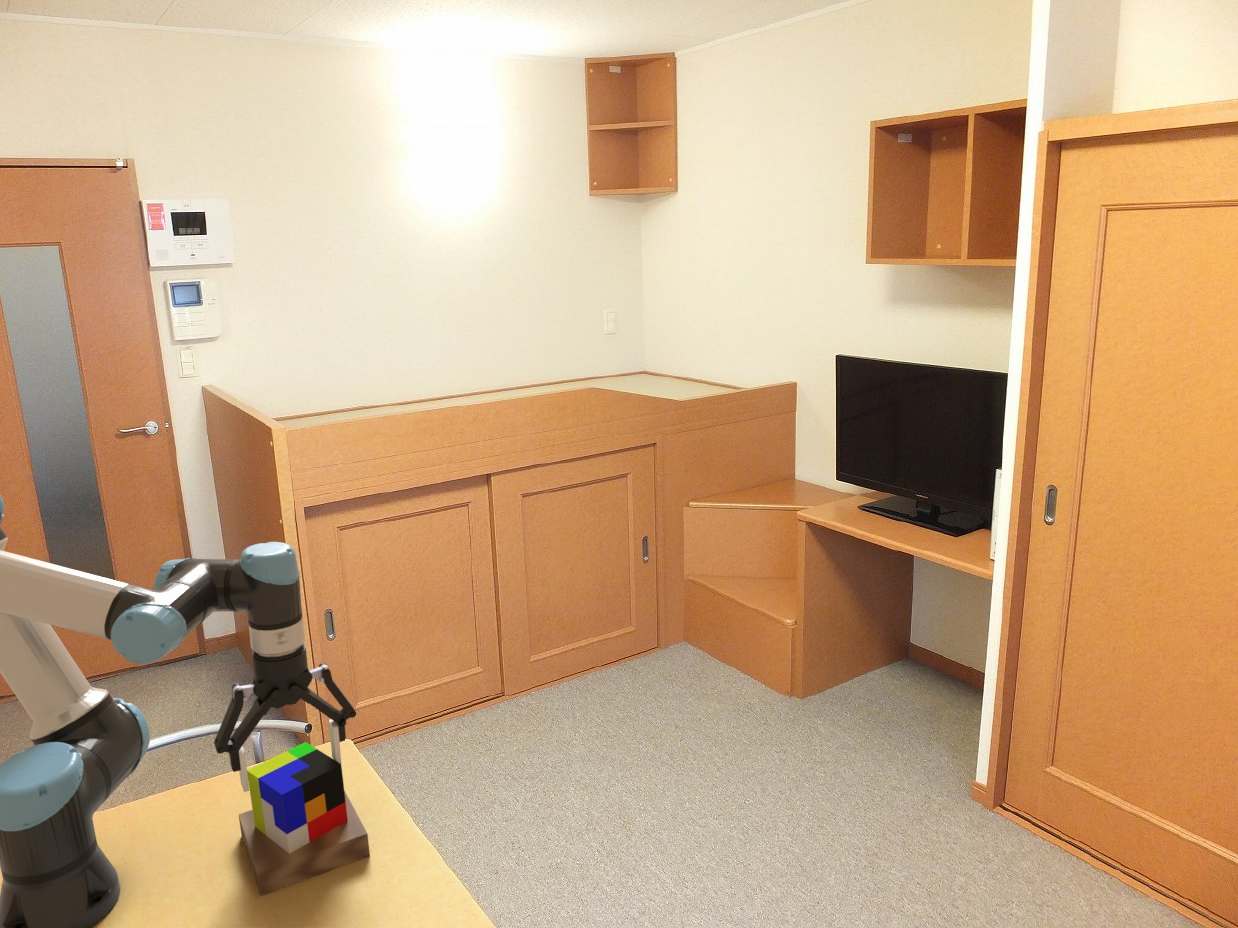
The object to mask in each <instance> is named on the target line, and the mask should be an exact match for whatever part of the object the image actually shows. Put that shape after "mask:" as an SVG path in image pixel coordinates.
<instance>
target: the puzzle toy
mask: <svg viewBox="0 0 1238 928" xmlns="http://www.w3.org/2000/svg"><path fill="white" fill-rule="evenodd" d="M342 768H343V767H342V763H341V764H340V763H339V762H337V761H335V760H334V759H333V757H332V756H331V757H330V755H328V754H326V753H324V752H322V751H321V750H319V749H318V748H316V747H314V746H313V745H311V744H309V743H308V742H306V741H305V742H303V743H300V744H298V745H296V746H295V747H292V748H290V749H288V750H286V751H284V752H282V753H279V754H277V755H275V756H274V757H271V758H270V759H268V760H265V761H264V762H261V763H259V764H257V765H254V766H253V767H251V768H249V769H247V775H248V783H249V794H250V801H251V802H250V803H251V808H252V809H251V810H253V816H254V823H255V827H256V828H257V829H258V830H260V831H261V832H262V833H264V834H265V835H266V836H267V837H269V838H270V839H271V840H273V841H274V842H275V843H276V844H278V845H279V846H280V847H282V848H283V849H284V850H285V851H287V852H288V853H289V854H290V853H292V852H294V851H295V850H297V849H299V848H301V847H302V846H304V845H306V844H308V843H309V842H311V841H313V840H315V839H316V838H318V837H320V836H322V835H323V834H325V833H327V832H329V831H330V830H332V829H334V828H336V827H337V826H339V825H341V824H342V823H344V822H346V821H348V818H347V810H346V801H345V792H346V791H345V786H344V785H345V783H344V777H343V769H342ZM344 791H345V792H344Z"/></svg>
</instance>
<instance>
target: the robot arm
mask: <svg viewBox="0 0 1238 928" xmlns="http://www.w3.org/2000/svg"><path fill="white" fill-rule="evenodd" d="M4 502H5V501H4V499H3V496H2V494H0V525H2V522H3V520H4V517H5V515H4V511H5V510H6V508H5V503H4ZM8 541H9V538H8V536H7V534H6V533H5V531H4V530H3V528H2V527H1V526H0V674H1V676H2V677H3V679H4V681H5V682H6V683H7V685H8V686H9V688H10V689H11V691H12V692H13V694H14V695H15V697H16V698H17V700H18V701H19V702H20V704H21V705H22V707H23V708H24V709H25V711H26V713H27V714H28V715H29V717H30V719H31V720H32V726H31V729H30V733H29V736H28V737H29V738H30V740H31V742H32V744H34V745H32V746H29V747H27V748H25V749H24V750H25V751H23V752H16V753H15V754H13V755H11V756H9V757H7V758H6V759H5V760H4V761H2V762H1V763H0V871H1V875H2V883H1V888H0V928H91V927H93V926H94V925H96V924H97V923H99V922H100V921H101V920H102V919H103V918H105V917H106V916H107V914H109V912H110V911H112V909H113V908H114V907H115V905H116V903H117V902H118V900H119V898H120V893H121V884H120V879H119V875H118V874H119V873H118V872H117V870H116V868H115V867H114V865H113V864H112V863H111V861H110V860H109V858H108V857H107V856H106V854H105V853H104V851H103V850H102V849H101V848H100V845H98V841H97V840H98V839H97V836H96V830H95V825H94V820H93V818H94V814H95V812H97V810H98V809H99V808H100V807H101V806H102V805H103V804H104V803H105V802H106V801H107V800H108V798H109V797H110V796H111V795H112V794H113V793H114V792H115V790H117V788H119V786H120V785H121V784H122V783H124V781H125V780H126V779H128V778H129V777H130V776H131V775H132V774H133V773H134V772H135V771H136V770H137V768H138V766H139V764H140V763H141V762H142V760H143V758H144V757H145V756H146V753H147V751H148V749H149V746H150V742H151V741H150V740H151V732H150V726H149V723H148V721H147V719H146V718H147V717H146V716H145V715H144V713H143V712H142V711H141V710H140V709H139V707H138V706H136V705H135V704H133V703H132V702H129V703H128V702H126V700H125V699H123V698H120V697H119V698H118V697H112V696H111V693H109V691H108V690H107V689H104V688H99V687H98V688H97V687H94V686H91V684H90V683H89V681H88V680H87V678H86V677H85V675H84V674H83V672H82V670H81V669H80V668H79V666H78V665H77V663H76V661H75V660H74V659H73V657H72V656H71V654H70V652H69V651H68V649H67V648H66V647H65V645H64V643H63V642H62V640H61V639H60V637H59V636H58V634H57V633H56V631H55V629H54V628H53V627H52V626H55V627H58V628H63V629H65V630H66V629H67V630H71V631H74V632H79V633H81V634H85V635H90V636H94V637H98V638H101V639H106V640H109V641H111V644H112V646H113V648H114V650H115V651H116V652H117V654H119V655H121V656H122V657H124V659H126V660H127V661H129V662H131V663H133V664H137V665H138V664H140V665H145V664H152V663H155V662H157V661H160V660H161V659H163V658H164V657H165V656H167V655H168V654H170V653H171V652H172V651H174V650H175V649H177V648H179V646H180V645H181V644H182V643H183V641H184V640H185V639H186V638H187V637H188V636H189V635H190V634H191V633H192V631H194V630H195V629H196V628H197V627H199V626H200V625H201V624H203V622H204V621H205V620H206V619H207V618H208V617H209V616H211V615H212V614H213V613H215V612H245V613H246V616H247V623H248V632H249V633H248V634H249V639H250V640H249V643H250V648H251V650H252V652H251V660H252V667H253V668H252V669H253V675H254V676H253V677H254V678H253V681H252V684H245V685H242V684H240V683H234V684H233V685H232V686H231V700H230V702H229V705H228V707H227V709H226V712H225V714H224V716H223V719H222V721H221V724H220V726H219V729H218V732H217V734H216V736H215V739H214V741H213V745H214V747H215V751H216V753H217V754H224V753H227V754H229V763H230V767H231V770H232V771H233V772H234V773H235V772H239V780H240V785H241V787H242V791H243V793H246V792H250V789H249V782H248V775H247V770H248V769H247V759H246V751H245V748H244V746H243V745H244V744H245V743H246V741H247V740H248V738H249V737H250V736H251V734H252V733H253V731H254V730H255V728H256V727H257V726H258V724H259V723H260V721H261V720H262V718H264V716H266V715H267V713H268V712H270V711H269V710H270V709H271V708H274V709H275V710H277V709H280V708H282V707H284V706H291V705H292V706H293V705H295V704H296V705H297V703H298V702H300V700H302V701H304V702H305V703H307V704H309V705H310V706H312V707H314V708H315V709H316V710H318V711H319V712H321V713H322V714H323V715H325V716H326V717H328V718H329V719H328V724H329V725H328V726H329V738H330V747H331V748H330V749H331V758H332V759H334V760H335V761H337V762H339V763H340V764H341V765H342V756H341V742H345V741H346V738H347V737H346V736H347V735H346V725H347V720H348V719H350V718H351V719H352V718H355V717H356V716H357V712H356V709H355V708H354V707H353V705H352V704H351V702H350V701H349V700H348V698H347V697H346V696H345V694H344V693H343V692H342V690H341V689H340V688H339V687H338V685H337V684H336V683H335V681H334V680H333V677H332V673H331V670H330V668H329V666H328V665H327V663H326V662H322V663H319V664H318V667H315V668H312V669H309V667H308V666H309V665H308V656H307V645H306V643H305V640H306V637H305V635H306V634H305V628H304V617H303V609H302V608H303V607H302V597H301V594H302V593H301V584H300V578H301V576H300V572H301V571H299V566H298V565H299V564H298V560H297V556H296V555H297V554H296V551H295V549H294V548H293V547H292V545H289V544H288V543H285V542H280V541H268V542H262V543H261V542H260V543H256V544H253V545H250V546H247V547H246V548H245V549H243V550H242V552H241V554H240V558H239V559H238V558H237V559H233V558H231V559H229V558H227V559H225V558H224V559H222V558H220V559H219V558H197V557H186V558H180V559H170V560H168V561H165V562H163V564H162V565H161V566H160V568H159V571H158V573H156V575H155V577H154V583H153V584H154V585H153V589H151V588H147V587H143V586H139V585H135V584H130V583H126V582H123V581H119V580H114V579H112V578H108V577H103V576H100V575H97V574H92V573H89V572H85V571H81V570H77V569H73V568H70V567H65V566H62V565H58V564H54V563H52V562H46V561H44V560H39V559H37V558H31V557H29V556H24V555H20V554H17V553H13V552H9V551H6V550H5V549H6V546H7V543H8ZM313 679H316V680H317V681H318V682H319V683H323V684H324V685H325V686H326V687H325V688H327V690H328V691H329V693H330V694H331V695H332V696H333V697H334V700H336V701H337V703H338V705H340V707H341V708H342V709H340V710H338V709H337V708H336V707H335V706H333V705H332V704H330V703H329V702H328V701H326V700H325V699H323V698H322V697H321V696H320V695H318V694H317V693H315V692H314V691H312V690H311V689H310V688H309V686H310V684H311V683H312V681H313ZM251 694H253V695H255V696H256V698H255V700H254V702H253V704H252V706H251V708H250V709H249V711H248V712H247V714H245V716H244V717H243V719H242V721H241V722H240V724H238V726H237V728H236V729H235V727H236V725H237V723H238V720H239V717H240V715H241V713H242V710H243V708H244V704H245V703H244V702H247V700H248V699H249V698H250V695H251ZM234 730H235V731H234Z"/></svg>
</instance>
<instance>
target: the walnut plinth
mask: <svg viewBox="0 0 1238 928" xmlns="http://www.w3.org/2000/svg"><path fill="white" fill-rule="evenodd" d="M344 792H345V801H346V810H347V818H348V821H346V822H344V823H342V824H341V825H339V826H337V827H336V828H334V829H332V830H330V831H329V832H327V833H325V834H323V835H322V836H320V837H318V838H316V839H315V840H313V841H311V842H309V843H308V844H306V845H304V846H302V847H301V848H299V849H297V850H295V851H294V852H292V853H290V854H289V853H288V852H287V851H285V850H284V849H283V848H282V847H280V846H279V845H278V844H276V843H275V842H274V841H273V840H271V839H270V838H269V837H267V836H266V835H265V834H264V833H262V832H261V831H260V830H258V829H257V828H256V827H255V823H254V816H253V809H250V810H247V811H245V812H241V813H238V815H237V816H238V821H239V827H240V834H241V838H242V841H243V844H244V847H245V850H246V854H247V856H248V859H249V863H250V866H251V868H252V872H253V874H254V875H253V876H254V878H255V881H256V884H257V888H258V890H259V893H260V896H261V897H263V896H264V895H267V894H270V893H272V892H275V891H279V890H280V889H284V888H286V887H289V886H292V885H295V884H297V883H300V882H303V881H306V880H308V879H311V878H314V877H316V876H317V877H318V876H319V875H321V874H325V873H328V872H330V871H333V870H335V869H338V868H340V867H343V866H346V865H349V864H352V863H355V862H357V861H360V860H363V859H365V858H368V857H370V856H371V854H370V853H371V852H370V843H369V836H368V835H369V834H368V831H367V830H366V828H365V826H364V824H363V823H362V821H361V818H360V817H359V815H358V813H357V811H356V810H355V808H354V806H353V804H352V802H351V800H350V798H349V796H348V794H347V793H346V790H344Z"/></svg>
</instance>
